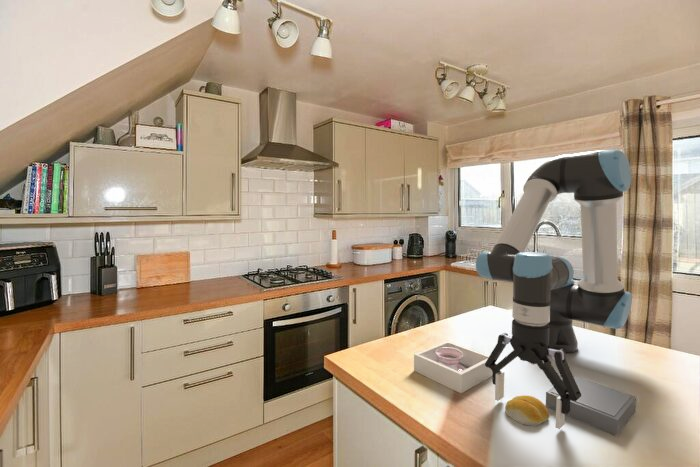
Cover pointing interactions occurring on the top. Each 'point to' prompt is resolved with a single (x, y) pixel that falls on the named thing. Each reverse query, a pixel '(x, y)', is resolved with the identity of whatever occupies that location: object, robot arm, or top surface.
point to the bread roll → (527, 410)
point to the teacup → (450, 357)
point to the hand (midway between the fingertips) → (527, 411)
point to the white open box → (449, 377)
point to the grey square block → (598, 406)
